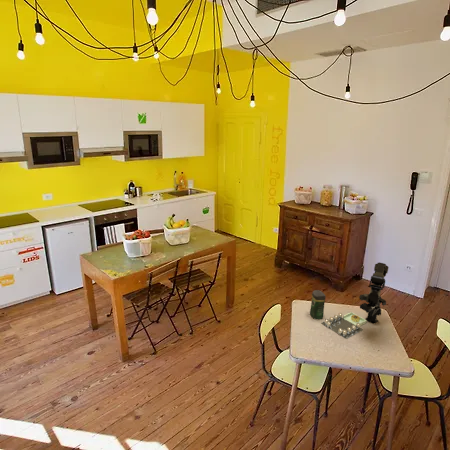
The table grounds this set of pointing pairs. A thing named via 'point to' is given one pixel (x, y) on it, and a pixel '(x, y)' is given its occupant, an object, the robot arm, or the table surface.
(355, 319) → the gear
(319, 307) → the coffee jar
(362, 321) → the tray
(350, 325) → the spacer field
